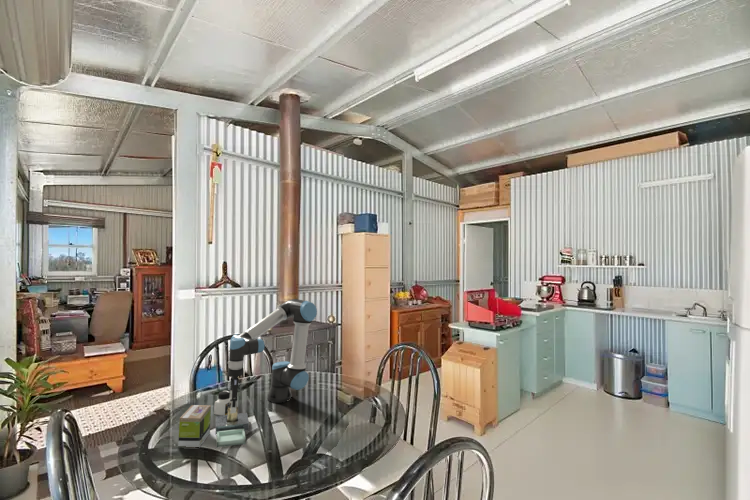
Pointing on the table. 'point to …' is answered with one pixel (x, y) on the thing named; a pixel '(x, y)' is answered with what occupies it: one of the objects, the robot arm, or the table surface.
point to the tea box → (194, 426)
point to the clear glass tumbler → (232, 415)
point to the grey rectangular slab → (232, 423)
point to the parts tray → (230, 437)
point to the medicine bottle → (222, 403)
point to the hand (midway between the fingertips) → (232, 407)
